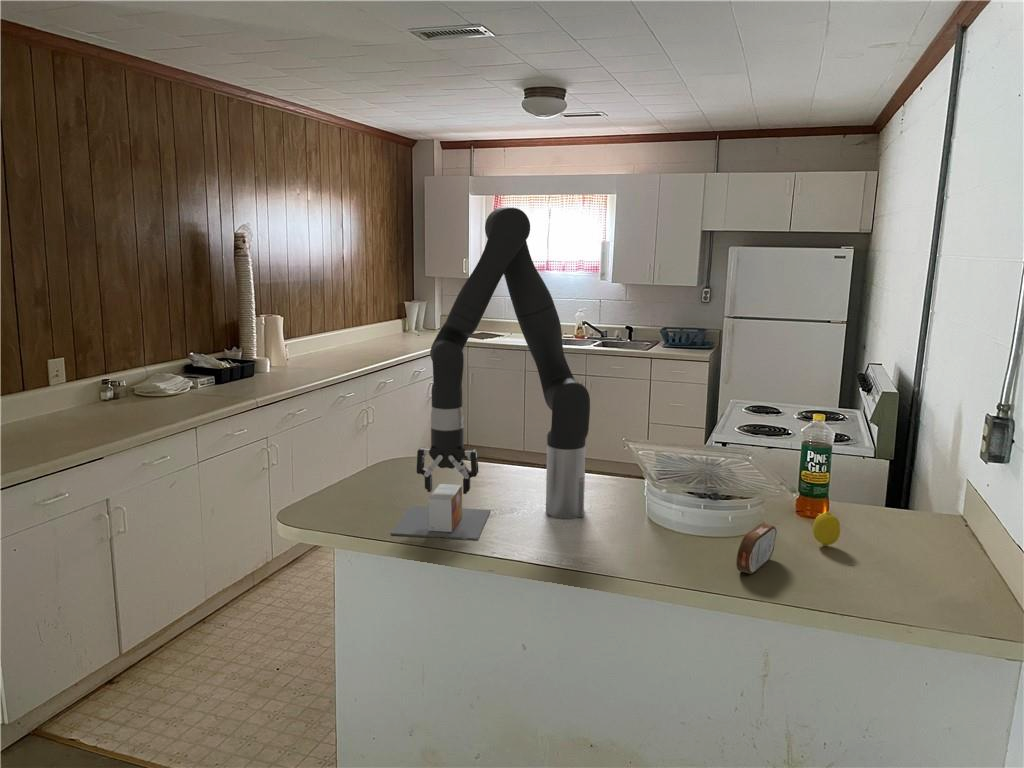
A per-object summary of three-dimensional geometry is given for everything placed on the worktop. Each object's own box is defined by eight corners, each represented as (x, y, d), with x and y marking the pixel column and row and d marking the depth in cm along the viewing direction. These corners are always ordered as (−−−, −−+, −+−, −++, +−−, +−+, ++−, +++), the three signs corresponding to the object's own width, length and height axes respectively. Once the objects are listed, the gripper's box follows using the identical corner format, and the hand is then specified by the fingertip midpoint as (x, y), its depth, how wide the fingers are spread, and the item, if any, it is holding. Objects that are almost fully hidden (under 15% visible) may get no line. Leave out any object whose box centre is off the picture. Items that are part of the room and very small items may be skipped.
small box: (462, 516, 182) (452, 533, 172) (439, 514, 183) (428, 531, 173) (462, 484, 180) (452, 499, 170) (439, 482, 181) (427, 498, 171)
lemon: (822, 552, 164) (825, 517, 162) (806, 542, 169) (809, 508, 168) (844, 550, 165) (847, 515, 164) (827, 540, 171) (830, 506, 169)
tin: (762, 553, 163) (765, 516, 162) (777, 557, 161) (780, 519, 160) (733, 577, 152) (736, 537, 150) (748, 581, 150) (751, 541, 148)
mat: (490, 511, 187) (490, 509, 186) (477, 540, 169) (478, 538, 169) (411, 507, 189) (411, 505, 189) (390, 534, 172) (390, 533, 171)
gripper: (412, 427, 173) (414, 495, 176) (474, 430, 171) (474, 499, 174) (421, 420, 180) (422, 485, 183) (480, 422, 178) (480, 488, 181)
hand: (447, 492), depth 179 cm, fingers open, 8 cm apart
